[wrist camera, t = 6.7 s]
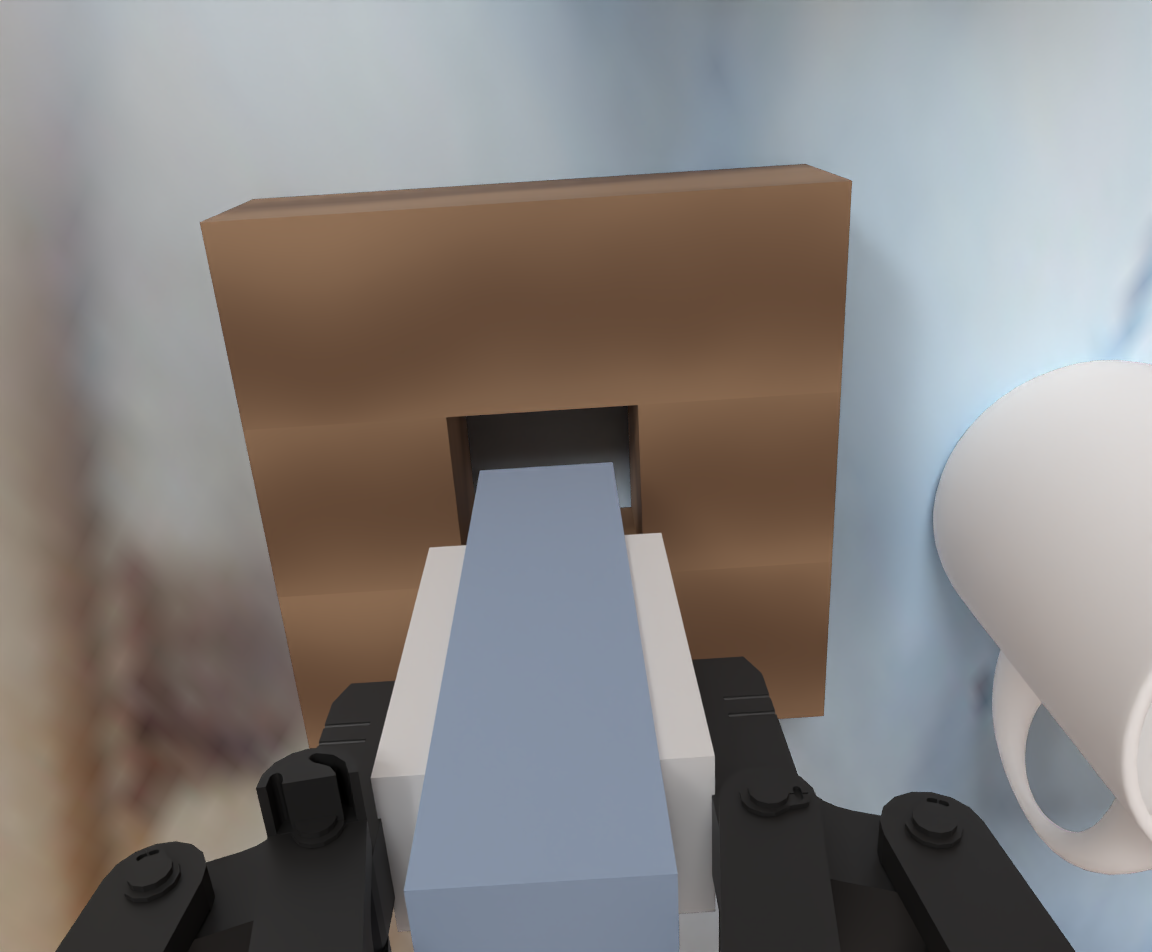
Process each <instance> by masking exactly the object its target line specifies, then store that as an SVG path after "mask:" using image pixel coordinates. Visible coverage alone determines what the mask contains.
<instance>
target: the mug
mask: <svg viewBox="0 0 1152 952" xmlns="http://www.w3.org/2000/svg"><path fill="white" fill-rule="evenodd" d="M933 531H934V538H935V544H936V548H937V551H938V554H939V557H940V560H941V563H942V566H943V569H944V570H945V572H946V574H947V576H948V578H949V580H950V582H951V584H952V585H953V587H954V589H955V590H956V592H957V593H958V594H959V596H960V597H961V598H962V600H963V601H964V603H965V604H966V605H967V607H968V608H969V609H970V611H971V612H972V613H973V615H974V616H975V617H976V619H977V620H978V621H979V623H980V624H981V625H982V626H983V628H984V629H985V630H986V631H987V633H988V634H989V635H990V636H991V638H992V639H993V640H994V641H995V643H996V644H997V645H998V647H999V648H1000V653H999V657H998V661H997V665H996V670H995V675H994V683H993V694H992V713H993V725H994V731H995V738H996V742H997V746H998V750H999V754H1000V758H1001V761H1002V764H1003V767H1004V770H1005V773H1006V775H1007V778H1008V780H1009V783H1010V785H1011V788H1012V790H1013V792H1014V794H1015V796H1016V798H1017V800H1018V803H1019V805H1020V806H1021V808H1022V810H1023V812H1024V814H1025V815H1026V817H1027V819H1028V821H1029V822H1030V824H1031V825H1032V827H1033V828H1034V830H1035V831H1036V832H1037V834H1038V835H1039V837H1040V838H1041V839H1042V840H1043V841H1044V842H1045V843H1046V844H1047V845H1048V847H1049V848H1050V849H1051V850H1052V851H1053V852H1055V853H1056V854H1057V855H1059V856H1060V857H1061V858H1063V859H1064V860H1066V861H1067V862H1069V863H1071V864H1073V865H1075V866H1077V867H1080V868H1082V869H1084V870H1087V871H1091V872H1097V873H1102V874H1108V875H1114V874H1130V873H1137V872H1142V871H1146V870H1150V869H1152V365H1150V364H1146V363H1140V362H1132V361H1123V360H1097V361H1090V362H1083V363H1077V364H1073V365H1069V366H1066V367H1062V368H1058V369H1055V370H1053V371H1050V372H1048V373H1045V374H1043V375H1040V376H1038V377H1035V378H1033V379H1031V380H1029V381H1027V382H1025V383H1024V384H1022V385H1020V386H1018V387H1016V388H1014V389H1013V390H1011V391H1010V392H1008V393H1007V394H1006V395H1004V396H1003V397H1001V398H1000V399H998V400H997V401H996V402H995V403H994V404H992V405H991V406H990V407H989V408H988V409H986V410H985V411H984V412H983V413H982V414H981V415H980V416H979V417H978V418H977V419H976V420H975V422H974V423H973V424H972V425H971V426H970V427H969V428H968V430H967V431H966V432H965V433H964V435H963V436H962V437H961V439H960V440H959V441H958V443H957V445H956V446H955V448H954V450H953V452H952V453H951V455H950V457H949V459H948V461H947V463H946V465H945V468H944V470H943V472H942V475H941V478H940V482H939V485H938V489H937V492H936V496H935V503H934V510H933ZM1042 703H1043V705H1044V706H1045V707H1046V709H1047V710H1048V711H1049V712H1050V714H1051V715H1052V716H1053V717H1054V719H1055V720H1056V721H1057V723H1058V724H1059V725H1060V726H1061V728H1062V729H1063V730H1064V731H1065V733H1066V734H1067V735H1068V736H1069V738H1070V739H1071V740H1072V742H1073V743H1074V744H1075V745H1076V747H1077V748H1078V749H1079V751H1080V752H1081V753H1082V755H1083V756H1084V757H1085V759H1086V760H1087V761H1088V762H1089V764H1090V765H1091V766H1092V768H1093V769H1094V770H1095V772H1096V773H1097V774H1098V775H1099V777H1100V778H1101V779H1102V781H1103V782H1104V783H1105V784H1106V786H1107V787H1108V788H1109V789H1110V791H1111V792H1112V793H1113V794H1114V796H1115V797H1116V798H1115V800H1114V802H1113V803H1112V805H1111V807H1110V808H1109V810H1108V811H1107V812H1106V813H1105V815H1104V816H1103V817H1102V819H1101V820H1100V821H1099V822H1097V823H1096V824H1095V825H1094V826H1092V827H1091V828H1089V829H1087V830H1085V831H1081V832H1073V831H1068V830H1066V829H1063V828H1061V827H1059V826H1058V825H1056V824H1055V823H1053V822H1052V821H1051V820H1050V819H1049V818H1048V817H1047V816H1046V815H1045V814H1044V813H1043V812H1042V810H1041V809H1040V808H1039V806H1038V805H1037V803H1036V802H1035V799H1034V797H1033V795H1032V792H1031V790H1030V787H1029V783H1028V778H1027V774H1026V764H1025V751H1026V741H1027V736H1028V731H1029V728H1030V725H1031V722H1032V719H1033V717H1034V715H1035V713H1036V711H1037V709H1038V708H1039V706H1040V705H1041V704H1042Z"/></svg>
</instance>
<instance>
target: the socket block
mask: <svg viewBox="0 0 1152 952" xmlns="http://www.w3.org/2000/svg"><path fill="white" fill-rule="evenodd" d="M851 188H852V181H851V180H848V179H846V178H843V177H840V176H837V175H835V174H832V173H829V172H826V171H824V170H821V169H818V168H815V167H813V166H810V165H807V164H797V165H782V166H766V167H750V168H735V169H719V170H703V171H688V172H672V173H656V174H641V175H625V176H610V177H594V178H578V179H563V180H547V181H531V182H516V183H500V184H484V185H469V186H453V187H438V188H422V189H406V190H391V191H375V192H359V193H344V194H328V195H312V196H297V197H281V198H265V199H253V200H250V201H248V202H246V203H243V204H241V205H239V206H237V207H234V208H232V209H230V210H227V211H225V212H223V213H221V214H218V215H216V216H214V217H211V218H209V219H207V220H204V221H202V222H200V225H201V230H202V235H203V240H204V245H205V249H206V254H207V259H208V264H209V269H210V273H211V278H212V283H213V288H214V293H215V297H216V302H217V307H218V312H219V317H220V321H221V326H222V331H223V336H224V341H225V345H226V350H227V355H228V360H229V365H230V369H231V374H232V379H233V384H234V389H235V393H236V398H237V403H238V408H239V412H240V417H241V422H242V427H243V432H244V436H245V441H246V446H247V451H248V456H249V460H250V465H251V470H252V475H253V480H254V484H255V489H256V494H257V499H258V504H259V508H260V513H261V518H262V523H263V528H264V532H265V537H266V542H267V547H268V552H269V556H270V561H271V566H272V571H273V575H274V580H275V585H276V590H277V595H278V599H279V604H280V609H281V614H282V619H283V623H284V628H285V633H286V638H287V643H288V647H289V652H290V657H291V662H292V667H293V671H294V676H295V681H296V686H297V691H298V695H299V700H300V705H301V710H302V715H303V719H304V724H305V729H306V734H307V738H308V743H309V748H317V746H319V740H320V737H321V734H322V731H323V729H324V728H325V722H326V719H327V716H328V714H329V711H330V708H331V705H332V703H333V702H334V701H335V700H336V699H337V698H338V696H339V695H340V694H341V693H342V692H343V691H344V690H345V689H346V688H347V687H348V686H349V685H350V684H351V683H367V682H383V681H395V680H396V677H397V673H398V669H399V665H400V661H401V657H402V653H403V649H404V645H405V641H406V637H407V633H408V629H409V626H410V622H411V618H412V614H413V610H414V606H415V602H416V598H417V594H418V590H419V586H420V582H421V578H422V575H423V571H424V567H425V563H426V559H427V555H428V551H429V548H431V547H446V546H462V545H466V544H467V539H468V533H469V528H470V522H471V516H472V511H473V505H474V500H475V494H474V485H473V476H472V467H471V458H470V449H469V440H468V431H467V422H466V416H473V415H489V414H504V413H520V412H535V411H551V410H567V409H582V408H598V407H613V406H627V409H628V434H629V459H630V485H631V507H625V508H620V511H621V518H622V524H623V530H624V535H634V534H650V533H661V534H662V538H663V542H664V546H665V550H666V555H667V559H668V563H669V567H670V571H671V575H672V580H673V584H674V588H675V592H676V596H677V600H678V605H679V609H680V613H681V617H682V621H683V625H684V630H685V634H686V638H687V642H688V646H689V650H690V655H691V659H692V660H695V659H710V658H726V657H742V656H744V657H745V658H746V659H747V660H748V661H749V662H750V663H751V664H752V665H753V666H754V667H756V668H757V669H758V670H759V671H760V672H761V673H762V675H763V678H764V680H765V683H766V686H767V689H768V692H769V697H770V698H771V700H772V703H773V706H774V709H775V714H777V717H778V719H784V718H800V717H815V716H824V700H825V681H826V662H827V643H828V624H829V605H830V586H831V567H832V548H833V529H834V510H835V491H836V473H837V454H838V435H839V416H840V397H841V378H842V359H843V340H844V321H845V302H846V283H847V264H848V245H849V226H850V207H851Z"/></svg>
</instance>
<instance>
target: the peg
mask: <svg viewBox="0 0 1152 952" xmlns="http://www.w3.org/2000/svg"><path fill="white" fill-rule="evenodd" d="M404 895H405V901H406V907H407V913H408V919H409V924H410V930H411V936H412V942H413V948H414V952H679V911H678V873H677V866H676V860H675V854H674V847H673V841H672V835H671V828H670V822H669V816H668V809H667V803H666V797H665V790H664V784H663V778H662V771H661V765H660V759H659V752H658V746H657V740H656V733H655V727H654V721H653V714H652V708H651V702H650V695H649V689H648V683H647V676H646V670H645V663H644V657H643V651H642V644H641V638H640V632H639V625H638V619H637V613H636V606H635V600H634V594H633V587H632V581H631V575H630V568H629V562H628V556H627V549H626V543H625V537H624V530H623V524H622V518H621V511H620V505H619V499H618V492H617V486H616V480H615V473H614V467H613V462H607V463H591V464H575V465H559V466H543V467H527V468H512V469H496V470H480V472H479V478H478V483H477V489H476V494H475V500H474V505H473V511H472V516H471V522H470V528H469V533H468V539H467V544H466V550H465V555H464V561H463V566H462V572H461V577H460V583H459V588H458V594H457V599H456V605H455V610H454V616H453V622H452V627H451V633H450V638H449V644H448V649H447V655H446V660H445V666H444V671H443V677H442V682H441V688H440V693H439V699H438V704H437V710H436V716H435V721H434V727H433V732H432V738H431V743H430V749H429V754H428V760H427V765H426V771H425V776H424V782H423V787H422V793H421V798H420V804H419V810H418V815H417V821H416V826H415V832H414V837H413V843H412V848H411V854H410V859H409V865H408V870H407V876H406V881H405V887H404Z"/></svg>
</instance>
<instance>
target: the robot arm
mask: <svg viewBox="0 0 1152 952" xmlns="http://www.w3.org/2000/svg"><path fill="white" fill-rule="evenodd" d="M624 537H625V543H626V549H627V556H628V562H629V568H630V575H631V581H632V587H633V594H634V600H635V606H636V613H637V619H638V625H639V632H640V638H641V644H642V651H643V657H644V663H645V670H646V676H647V683H648V689H649V695H650V702H651V708H652V714H653V721H654V727H655V733H656V740H657V746H658V752H659V759H660V765H661V771H662V778H663V784H664V790H665V797H666V803H667V809H668V816H669V822H670V828H671V835H672V841H673V847H674V854H675V860H676V866H677V873H678V911H679V914H683V913H699V912H715V893H716V898H717V903H718V908H719V952H1075V950H1074V949H1073V947H1072V946H1071V945H1070V943H1069V942H1068V940H1067V939H1066V938H1065V936H1064V935H1063V933H1062V932H1061V930H1060V929H1059V928H1058V926H1057V925H1056V923H1055V922H1054V921H1053V919H1052V918H1051V916H1050V915H1049V914H1048V912H1047V911H1046V909H1045V908H1044V906H1043V905H1042V904H1041V902H1040V901H1039V899H1038V898H1037V897H1036V895H1035V894H1034V892H1033V891H1032V889H1031V888H1030V887H1029V885H1028V884H1027V882H1026V881H1025V880H1024V878H1023V877H1022V875H1021V874H1020V872H1019V871H1018V870H1017V868H1016V867H1015V865H1014V864H1013V863H1012V861H1011V860H1010V858H1009V857H1008V856H1007V854H1006V853H1005V851H1004V850H1003V848H1002V847H1001V846H1000V844H999V843H998V841H997V840H996V839H995V837H994V836H993V834H992V833H991V831H990V830H989V829H988V827H987V826H986V824H985V823H984V822H983V820H982V819H981V818H980V817H979V816H978V815H977V814H976V813H975V812H974V811H973V810H972V809H971V808H970V807H968V806H966V805H964V804H962V803H960V802H959V801H957V800H955V799H953V798H951V797H947V796H943V795H940V794H936V793H932V792H910V793H906V794H903V795H900V796H896V797H894V798H893V799H892V800H891V801H889V802H888V803H887V804H886V805H885V806H884V807H883V810H882V814H881V816H880V815H874V814H868V813H863V812H857V811H852V810H848V809H844V808H840V807H837V806H834V805H832V804H830V803H828V802H825V801H823V800H822V799H820V798H819V797H817V796H816V795H815V792H814V790H813V788H812V787H811V786H810V785H809V784H808V783H807V782H806V781H805V780H803V779H802V778H801V777H800V776H798V774H797V771H796V768H795V766H794V763H793V760H792V757H791V754H790V751H789V749H788V746H787V743H786V740H785V737H784V734H783V732H782V729H781V726H780V723H779V720H778V717H777V714H775V709H774V706H773V703H772V700H771V698H770V697H769V692H768V689H767V686H766V683H765V680H764V678H763V675H762V673H761V672H760V671H759V670H758V669H757V668H756V667H754V666H753V665H752V664H751V663H750V662H749V661H748V660H747V659H746V658H745V657H744V656H742V657H726V658H710V659H695V660H692V659H691V655H690V650H689V646H688V642H687V638H686V634H685V630H684V625H683V621H682V617H681V613H680V609H679V605H678V600H677V596H676V592H675V588H674V584H673V580H672V575H671V571H670V567H669V563H668V559H667V555H666V550H665V546H664V542H663V538H662V534H661V533H650V534H634V535H624ZM465 550H466V545H462V546H446V547H431V548H429V551H428V555H427V559H426V563H425V567H424V571H423V575H422V578H421V582H420V586H419V590H418V594H417V598H416V602H415V606H414V610H413V614H412V618H411V622H410V626H409V629H408V633H407V637H406V641H405V645H404V649H403V653H402V657H401V661H400V665H399V669H398V673H397V677H396V680H395V681H383V682H367V683H351V684H350V685H349V686H348V687H347V688H346V689H345V690H344V691H343V692H342V693H341V694H340V695H339V696H338V698H337V699H336V700H335V701H334V702H333V703H332V705H331V708H330V711H329V714H328V716H327V719H326V722H325V728H324V729H323V731H322V734H321V737H320V740H319V746H317V748H310V749H306V750H303V751H299V752H296V753H292V754H290V755H288V756H287V757H285V758H283V759H281V760H279V761H277V762H275V763H274V764H273V765H272V766H271V767H270V768H269V769H268V770H267V771H266V772H265V773H264V774H263V775H262V777H261V779H260V781H259V783H258V785H257V787H256V790H257V794H258V799H259V803H260V807H261V811H262V815H263V820H264V824H265V828H266V832H267V836H268V837H267V840H266V841H264V842H262V843H260V844H259V845H257V846H255V847H252V848H250V849H247V850H245V851H242V852H239V853H236V854H233V855H229V856H226V857H223V858H220V859H216V860H213V861H210V862H206V861H205V858H204V855H203V852H202V851H200V850H199V849H198V848H196V847H195V846H194V845H192V844H187V843H181V842H176V841H175V842H168V843H161V844H155V845H153V846H150V847H147V848H145V849H142V850H140V851H137V852H135V853H133V854H132V855H130V856H129V857H127V858H126V859H124V860H123V861H121V862H120V863H118V864H117V865H116V866H115V867H114V868H113V869H112V870H111V872H110V873H109V874H108V875H107V876H106V877H105V878H104V879H103V881H102V882H101V884H100V885H99V887H98V888H97V890H96V891H95V893H94V894H93V896H92V897H91V899H90V900H89V902H88V903H87V905H86V906H85V908H84V909H83V911H82V912H81V914H80V915H79V917H78V918H77V920H76V921H75V923H74V924H73V926H72V927H71V929H70V930H69V932H68V933H67V935H66V936H65V938H64V939H63V941H62V942H61V944H60V945H59V947H58V949H57V950H56V952H391V947H390V941H389V936H388V933H389V928H390V923H391V917H392V912H393V907H394V912H395V917H396V923H397V929H398V932H401V931H411V930H410V924H409V919H408V913H407V907H406V901H405V895H404V887H405V881H406V876H407V870H408V865H409V859H410V854H411V848H412V843H413V837H414V832H415V826H416V821H417V815H418V810H419V804H420V798H421V793H422V787H423V782H424V776H425V771H426V765H427V760H428V754H429V749H430V743H431V738H432V732H433V727H434V721H435V716H436V710H437V704H438V699H439V693H440V688H441V682H442V677H443V671H444V666H445V660H446V655H447V649H448V644H449V638H450V633H451V627H452V622H453V616H454V610H455V605H456V599H457V594H458V588H459V583H460V577H461V572H462V566H463V561H464V555H465Z"/></svg>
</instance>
